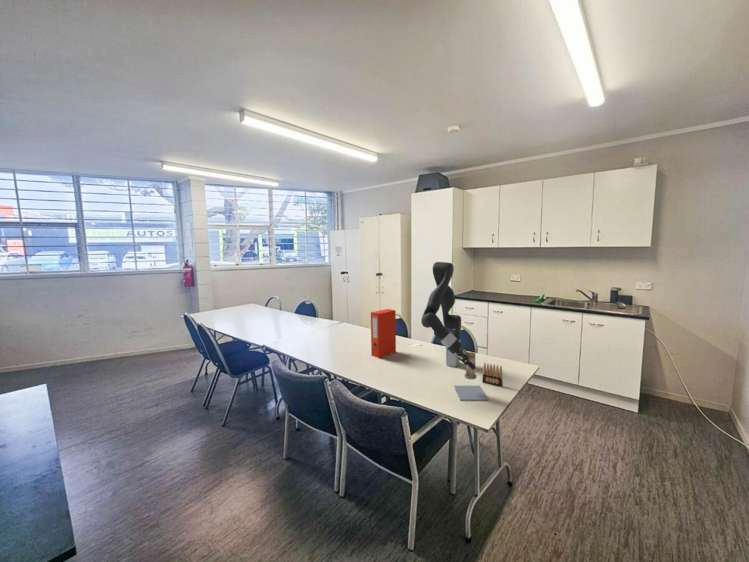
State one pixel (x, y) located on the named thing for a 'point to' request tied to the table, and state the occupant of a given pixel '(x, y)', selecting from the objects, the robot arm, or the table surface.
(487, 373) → the ammunition clip
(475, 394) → the slate mat
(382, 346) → the file binder
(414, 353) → the table surface
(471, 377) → the tan ribbed cylinder
